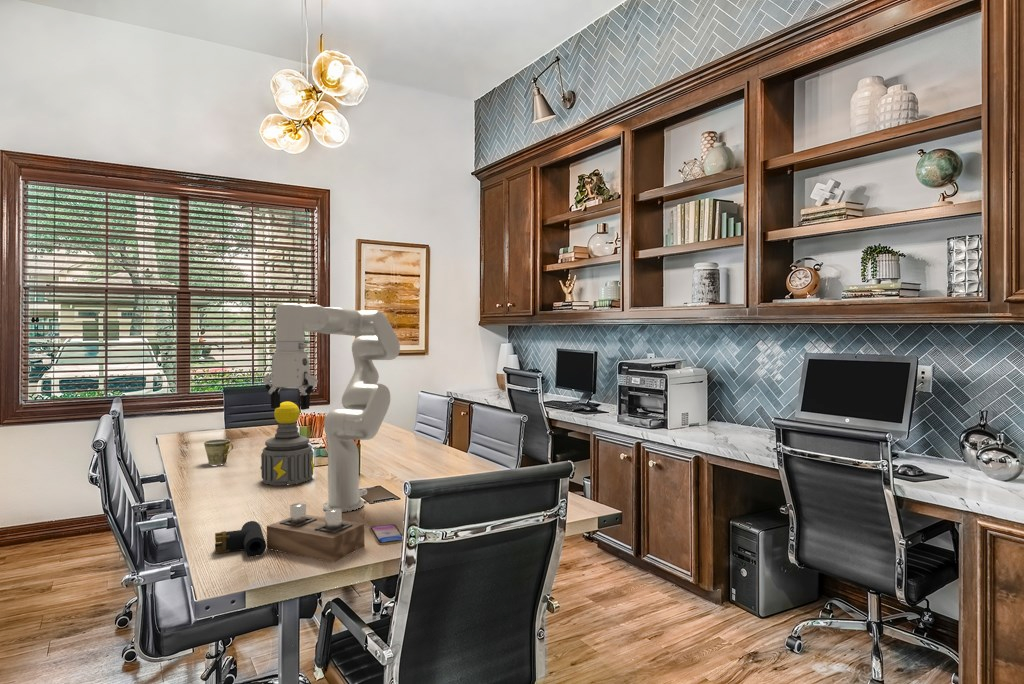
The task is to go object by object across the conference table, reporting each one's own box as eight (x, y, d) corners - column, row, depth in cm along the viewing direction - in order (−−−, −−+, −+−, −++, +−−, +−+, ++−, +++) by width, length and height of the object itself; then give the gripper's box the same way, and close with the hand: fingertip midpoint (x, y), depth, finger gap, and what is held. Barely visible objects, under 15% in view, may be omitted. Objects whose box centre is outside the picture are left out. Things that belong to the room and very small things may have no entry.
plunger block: (300, 534, 171) (300, 512, 170) (364, 546, 161) (364, 522, 161) (267, 548, 160) (266, 524, 160) (333, 562, 150) (332, 536, 150)
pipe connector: (216, 541, 151) (214, 524, 164) (215, 563, 151) (214, 544, 164) (266, 535, 156) (260, 519, 169) (266, 556, 156) (260, 538, 169)
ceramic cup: (198, 466, 256) (198, 442, 256) (216, 461, 266) (216, 438, 266) (224, 468, 253) (223, 444, 252) (241, 463, 262) (241, 440, 262)
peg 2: (333, 531, 161) (332, 507, 160) (345, 533, 159) (344, 509, 159) (322, 535, 157) (322, 511, 157) (334, 538, 155) (334, 513, 155)
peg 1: (298, 525, 166) (298, 502, 166) (309, 527, 164) (309, 504, 164) (287, 529, 162) (286, 506, 162) (298, 531, 160) (298, 508, 160)
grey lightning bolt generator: (306, 486, 224) (305, 404, 223) (253, 487, 223) (252, 404, 222) (319, 473, 243) (318, 398, 242) (270, 474, 241) (269, 398, 241)
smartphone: (395, 526, 179) (395, 522, 179) (407, 543, 165) (407, 539, 165) (369, 529, 176) (369, 526, 176) (378, 547, 162) (378, 543, 162)
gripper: (324, 347, 173) (324, 408, 173) (272, 347, 178) (272, 406, 178) (308, 348, 166) (308, 411, 166) (255, 347, 171) (255, 409, 171)
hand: (290, 408), depth 172 cm, fingers open, 9 cm apart
